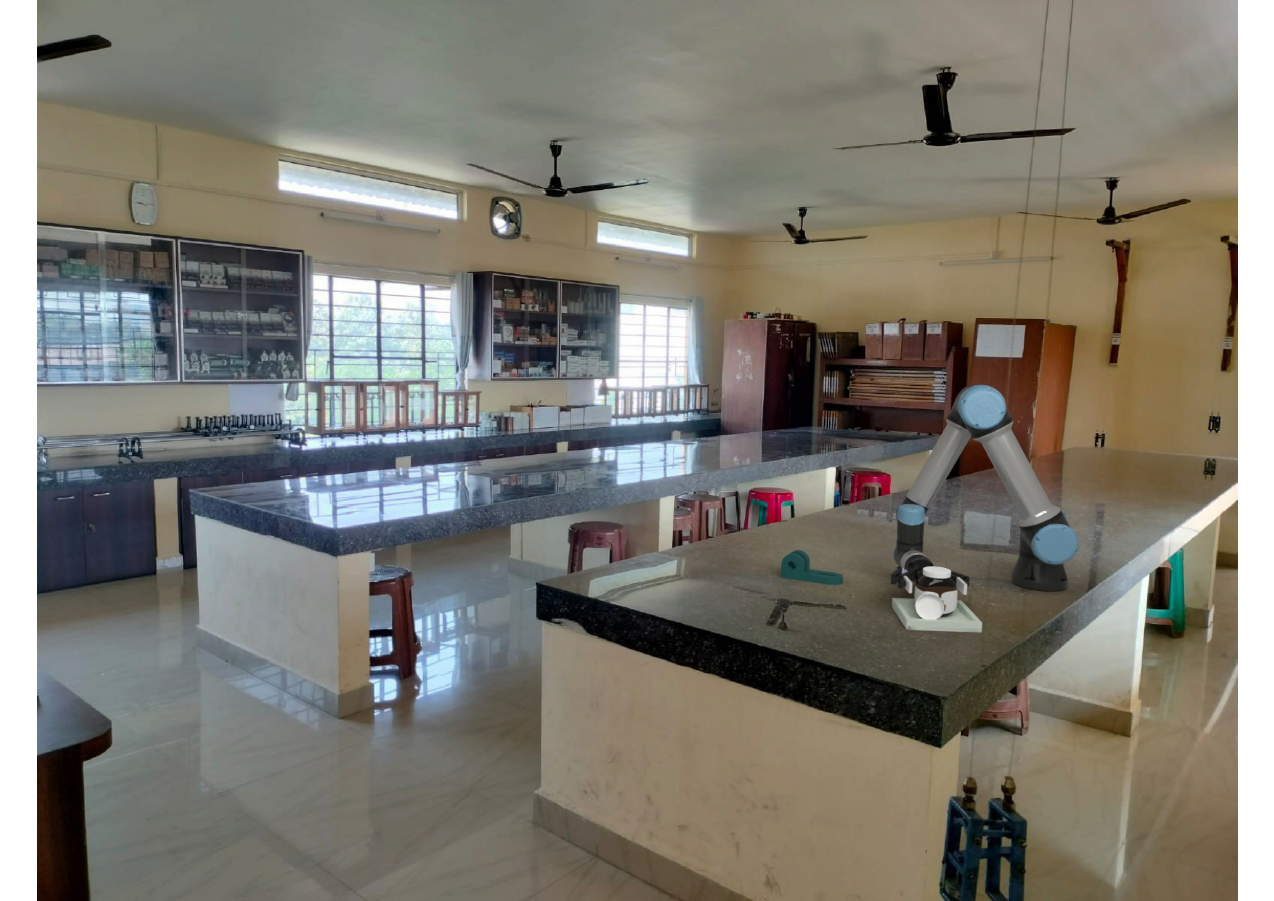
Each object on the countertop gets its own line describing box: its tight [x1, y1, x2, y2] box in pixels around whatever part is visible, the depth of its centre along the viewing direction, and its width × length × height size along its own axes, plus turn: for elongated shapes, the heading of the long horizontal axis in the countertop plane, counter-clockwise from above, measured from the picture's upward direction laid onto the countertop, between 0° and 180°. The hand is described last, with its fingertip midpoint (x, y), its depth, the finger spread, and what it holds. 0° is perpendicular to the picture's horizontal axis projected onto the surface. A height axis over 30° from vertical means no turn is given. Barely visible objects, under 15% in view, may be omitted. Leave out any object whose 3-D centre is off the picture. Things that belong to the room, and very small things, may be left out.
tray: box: [891, 597, 983, 633], centre depth 205 cm, size 18×18×2 cm
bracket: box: [780, 549, 844, 586], centre depth 242 cm, size 18×7×8 cm, turn 60°
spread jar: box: [914, 565, 958, 619], centre depth 205 cm, size 12×11×12 cm
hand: (938, 588), depth 203 cm, fingers open, 13 cm apart
